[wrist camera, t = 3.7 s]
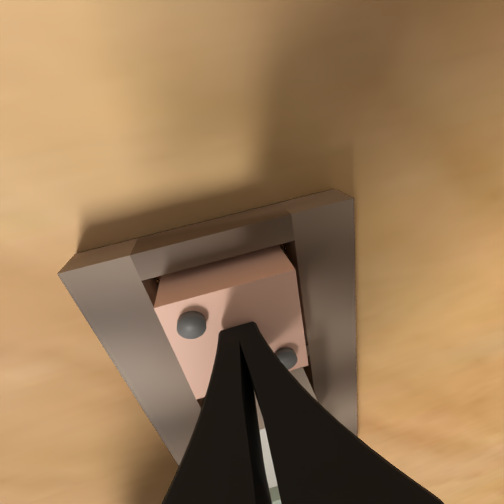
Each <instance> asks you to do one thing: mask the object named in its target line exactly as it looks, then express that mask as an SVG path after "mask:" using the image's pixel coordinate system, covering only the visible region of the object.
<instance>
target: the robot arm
mask: <svg viewBox="0 0 504 504" xmlns="http://www.w3.org/2000/svg"><path fill="white" fill-rule="evenodd" d="M254 392H255V394H254ZM255 395H256V398H257V401H258V404H259V407H260V411H261V414H262V417H263V421H264V425H265V430H266V434H267V439H268V443H269V448H270V453H271V457H272V462H273V466H274V471H275V476H276V480H277V485H278V490H279V495H280V499H281V504H444V503H443V502H442V501H441V500H440V499H439V498H438V497H436V496H435V495H434V494H432V493H431V492H429V491H428V490H427V489H425V488H424V487H422V486H421V485H420V484H418V483H417V482H415V481H414V480H412V479H411V478H410V477H408V476H407V475H406V474H404V473H403V472H402V471H400V470H399V469H397V468H396V467H395V466H393V465H392V464H391V463H390V462H388V461H387V460H386V459H384V458H383V457H382V456H380V455H379V454H378V453H377V452H375V451H374V450H373V449H371V448H370V447H369V446H368V445H366V444H365V443H364V442H363V441H362V440H361V439H359V438H358V437H357V436H356V435H355V434H353V433H352V432H351V431H350V430H349V429H347V428H346V427H345V426H344V425H343V424H341V423H340V422H339V421H338V420H337V419H336V418H335V417H334V416H332V415H331V414H330V413H329V412H328V411H327V410H326V409H325V408H324V407H323V406H322V405H321V404H320V403H319V402H318V401H317V400H316V399H315V398H314V397H312V396H311V395H310V393H309V392H308V391H307V390H306V389H305V388H304V387H303V386H302V385H301V384H300V383H299V382H298V381H297V380H296V378H295V377H294V376H293V375H292V374H291V373H290V372H289V371H288V369H287V368H286V367H285V366H284V365H283V363H282V362H281V361H280V359H279V358H278V357H277V356H276V354H275V353H274V352H273V350H272V349H271V348H270V346H269V345H268V343H267V342H266V340H265V339H264V337H263V336H262V334H261V332H260V330H259V328H258V326H257V324H256V323H255V322H253V321H252V322H249V323H245V324H242V325H238V326H235V327H231V328H228V329H224V330H221V331H220V332H219V335H218V344H217V351H216V356H215V361H214V365H213V369H212V373H211V377H210V381H209V385H208V389H207V392H206V395H205V398H204V401H203V405H202V408H201V411H200V414H199V417H198V420H197V423H196V425H195V428H194V431H193V433H192V436H191V438H190V441H189V444H188V446H187V449H186V451H185V453H184V456H183V458H182V460H181V463H180V465H179V467H178V470H177V472H176V474H175V476H174V479H173V481H172V483H171V485H170V487H169V489H168V492H167V494H166V496H165V498H164V500H163V502H162V504H272V500H271V495H270V491H269V486H268V481H267V477H266V471H265V466H264V460H263V453H262V445H261V438H260V431H259V423H258V416H257V409H256V401H255Z"/></svg>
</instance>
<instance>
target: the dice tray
mask: <svg viewBox="0 0 504 504" xmlns="http://www.w3.org/2000/svg"><path fill="white" fill-rule="evenodd" d="M283 243H285V244H286V251H287V258H288V259H289V261H290V262H291V264H292V265H293V267H294V268H295V270H296V277H297V285H298V292H299V299H300V307H301V314H302V321H303V329H304V336H305V343H306V351H307V358H308V366H305V367H304V371H305V374H306V376H307V378H308V380H309V383H310V385H311V387H312V389H313V392H314V394H315V396H316V399H317V401H318V402H319V403H320V404H321V405H322V406H323V407H324V408H325V409H326V410H327V411H328V412H329V413H330V414H331V415H332V416H334V417H335V418H336V419H337V420H338V421H339V422H340V423H341V424H343V425H344V426H345V427H346V428H347V429H349V430H350V431H351V432H352V433H353V434H355V435H356V436H357V372H356V302H355V232H354V198H352V197H350V196H348V195H346V194H344V193H342V192H340V191H338V190H336V189H332V190H328V191H324V192H320V193H316V194H312V195H308V196H304V197H300V198H296V199H292V200H288V201H284V202H280V203H276V204H272V205H268V206H264V207H260V208H256V209H252V210H248V211H244V212H240V213H236V214H232V215H228V216H224V217H220V218H216V219H212V220H208V221H204V222H200V223H196V224H192V225H188V226H184V227H180V228H176V229H172V230H168V231H164V232H160V233H156V234H152V235H148V236H144V237H140V238H136V239H132V240H128V241H124V242H120V243H116V244H112V245H108V246H104V247H100V248H96V249H92V250H88V251H84V252H80V253H76V254H75V255H74V256H73V257H72V258H71V259H70V260H69V261H68V262H67V264H66V265H65V266H64V267H63V268H62V269H61V270H60V271H59V272H58V276H59V277H60V279H61V281H62V282H63V284H64V285H65V287H66V288H67V290H68V292H69V293H70V295H71V296H72V298H73V300H74V301H75V303H76V304H77V306H78V307H79V309H80V311H81V312H82V314H83V315H84V317H85V319H86V320H87V322H88V323H89V325H90V326H91V328H92V330H93V331H94V333H95V334H96V336H97V338H98V339H99V341H100V342H101V344H102V345H103V347H104V349H105V350H106V352H107V353H108V355H109V357H110V358H111V360H112V361H113V363H114V364H115V366H116V368H117V369H118V371H119V372H120V374H121V376H122V377H123V379H124V380H125V382H126V383H127V385H128V387H129V388H130V390H131V391H132V393H133V395H134V396H135V398H136V399H137V401H138V402H139V404H140V406H141V407H142V409H143V410H144V412H145V414H146V415H147V417H148V418H149V420H150V421H151V423H152V425H153V426H154V428H155V429H156V431H157V433H158V434H159V436H160V437H161V439H162V440H163V442H164V444H165V445H166V447H167V448H168V450H169V452H170V453H171V455H172V456H173V458H174V459H175V461H176V463H177V464H178V466H179V465H180V463H181V460H182V458H183V456H184V453H185V451H186V449H187V446H188V444H189V441H190V438H191V436H192V433H193V431H194V428H195V425H196V423H197V420H198V417H199V414H200V411H201V408H202V405H203V401H204V398H205V397H203V398H200V399H197V400H196V398H195V396H194V394H193V392H192V390H191V387H190V385H189V383H188V381H187V379H186V377H185V374H184V372H183V370H182V368H181V366H180V364H179V362H178V359H177V357H176V355H175V353H174V351H173V349H172V347H171V344H170V342H169V340H168V338H167V336H166V334H165V331H164V329H163V327H162V325H161V323H160V321H159V319H158V316H157V314H156V312H155V310H154V305H155V300H156V295H157V291H158V286H159V285H158V283H157V281H156V278H155V277H158V276H162V275H165V274H169V273H173V272H177V271H181V270H184V269H188V268H192V267H196V266H200V265H203V264H207V263H211V262H215V261H219V260H222V259H226V258H230V257H234V256H238V255H241V254H245V253H249V252H253V251H257V250H260V249H264V248H268V247H272V246H276V245H279V244H283Z"/></svg>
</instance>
